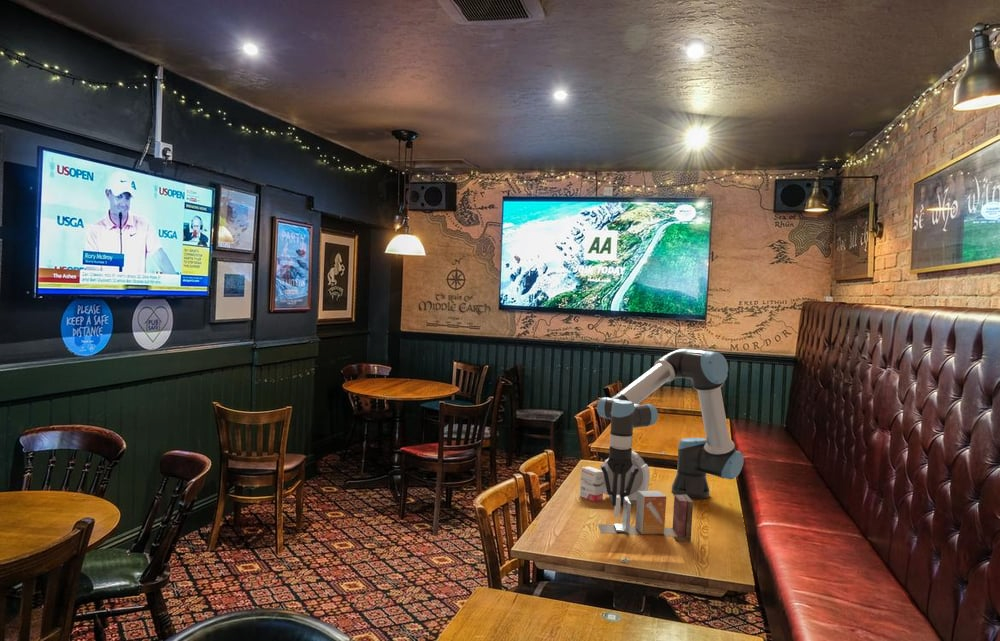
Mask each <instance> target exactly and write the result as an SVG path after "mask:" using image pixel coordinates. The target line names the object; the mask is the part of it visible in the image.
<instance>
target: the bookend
mask: <svg viewBox="0 0 1000 641" xmlns="http://www.w3.org/2000/svg"><path fill="white" fill-rule="evenodd" d="M631 509H632V504H631V503H630V501H629V499H628V497H624V504H623V506H622V519H621V520H622V522H621V523H616V522H615V523H613V525H614V527H615V529H616V532H626V533H629V529H630V526H631V525H630V524H631V511H632V510H631Z"/></svg>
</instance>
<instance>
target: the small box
mask: <svg viewBox="0 0 1000 641" xmlns="http://www.w3.org/2000/svg"><path fill="white" fill-rule="evenodd" d="M635 506H636V508H635V509H636V510H635V522H634V523H635V525H634V526H635V528H636V529H637V530H638V531H639V532H640V533H642V534H664V528H665V526H666V525H665V524H666V523H665V522H666V508H667V495H665V494H664V493H662V491H661V490H648V491H637V504H636V505H635Z"/></svg>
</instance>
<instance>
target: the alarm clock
mask: <svg viewBox="0 0 1000 641" xmlns="http://www.w3.org/2000/svg"><path fill="white" fill-rule="evenodd" d="M608 459H609V457H608V458H607V459H605V460H604V462H603V463H602V465H605V464H607V461H608ZM631 461H632V464H633V466H635V467H637V468H638V469H639V471H638V473H637V474H636V475H635V479H634V482H633V485H632V488H631V492H630V495H629V496H625V497H628V499H629V501H630V503H631V506H632V505H633V506H637V491H649V485H650V474H651V473H650V467H649V465H648V463H646V462H645V461H644V459H643V458H642V457H641V456H640V455H639V453H637V452H636V451H634V450H632V457H631ZM600 470H601V471H602V469H600ZM607 473H608V478H609V483H610V488H611V491H612V484H613V472H612V471H611V469H610V468H609V467H608V471H607ZM630 473H631V468H630V470H629V471H628V472H627V473H626V477H625V490H626V486H627V483H628V480H629V477H630ZM603 495H607V496H609V497H608V500H609V501H612V496H611V495H608V493H607V489H606V484H605V479H604V480H603ZM617 495H620V474H618V480H617Z"/></svg>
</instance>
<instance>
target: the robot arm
mask: <svg viewBox="0 0 1000 641" xmlns="http://www.w3.org/2000/svg"><path fill="white" fill-rule="evenodd" d="M728 372H729V365H728V361H727V359H726V357H724V355H723V354H722V353H719V352H717V351H716V352H715V351H712V350H704V349H703V350H701V349H694V348H693V349H692V348H685V347H684V348H679V349H675V350H673V351H671V352H668V353H667V354H665V355H663V356H662V357H660V358H659V359H657V360H656V361H655V362H654V364H653V366H652V367H651V368H649V369H648V370H646V372H644V373H643V374H641V375H640V376H639V377H638V378H636V379H634V381H632V382H631V383H630V384H628V385H626V386H625V387H624V388H623V389H621V390H620V391H618V393H616V394H615V395H613V396H612V397H608V396H607V397H605V396H604V397H600V399H599V400H598V402H597V405H596V412H597V414H598V415H599V416H600V417H601V418H604V419H606V420H609V421H610V432H609V434H610V436H609V445H610V446H609V451H608V458H609V459H608V458H607V459H608V461H607V464H605V465H603V464H602V465H600V470H602V471H603V474H604V479H605V484H606V489H607V493H608V495H607V496H609V495H611V496H612V500H611V505H612V507H614V511H613V515H614V516H615V517H619V518H620V517H621V507H623V504H624V497H625V496H629V495H630V492H631V488H632V485H633V482H634V479H635V475H636V474H637V473H638V471H639V469H638V468H637V467H635V466H633V464H632V461H631V457H632V451H633V449H632V447H633V439H634V438H633V437H634V436H633V435H634V433H633V432H634V429H635V428H644V427H646V428H647V427H649V426H652V425H654V424H656V423H657V421H658V419H659V412H658V409H657V408H656V407H655V406H654V405H652V404H650V403H643V404H640V403H641V402H642V401H643V400H644V399H646V398H647V397H648V396H651V394H652V393H654V392H655V391H656V390H658V389H659V388H660V387H661V386H663V385H664V384H665V383H670V382H672V381H674V380H675V379H688V380H690V381H691V384H692V385H691V386H692V388H693V389H694V390H696V391H697V394H698V395H697V396H698V400H699V405H700V411H701V416H702V422H703V426H704V427H703V428H704V432H705V437H706V438H704V437H685V438H681V439H680V440H679V442H678V448H677V464H676V465H677V467H676V468H677V469H676V474H675V477H674V480H673V482H672V485H671V493H672V494H674V495H682V494H685V495H688V497H689V498H690V499H691V500H692V499H693V500H694V499H695V500H703V499H704V500H705V499H708V498H709V497H710V486H709V483H708V479H707V474H708V475H712V476H714V477H718V478H722V479H726V480H734V479H736V478H737V477H738V476H739V475H740V474H741V472H742V468H743V466H744V455H743V453H742V452H741V451H740V450H736V446H735V444H736V443H735V442H734V440H731V439H730V435H729V428H728V422H727V417H726V411H725V406H724V400H723V395H722V389H721V387H723V386H724V385H725V381H726V380H727V378H728ZM608 467H609V468H610V469H611V471H612V472H613V484H612V491H611V488H610V483H609V478H608V473H607V471H608ZM630 468H631V473H630V477H629V480H628V483H627V486H626V490H625V477H626V473H627V472H628V471H629V470H630ZM618 474H620V495H617V480H618Z"/></svg>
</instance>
